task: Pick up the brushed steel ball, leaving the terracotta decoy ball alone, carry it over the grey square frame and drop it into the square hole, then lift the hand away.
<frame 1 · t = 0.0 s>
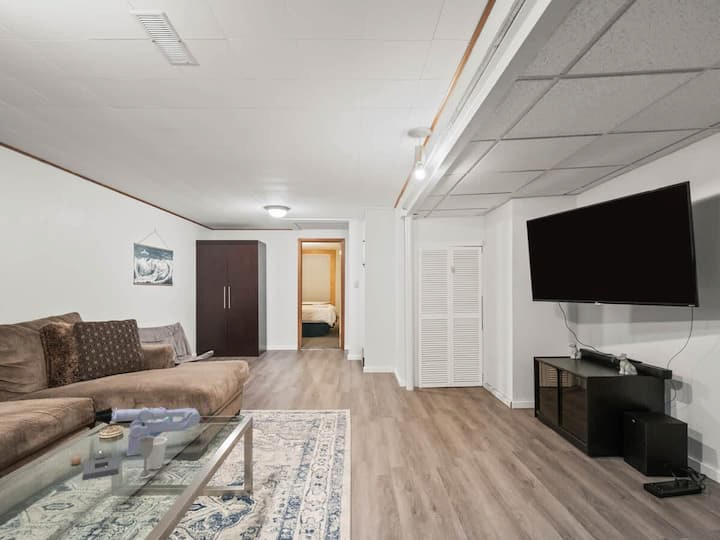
hand: (95, 416, 208), 22 cm above the table, tool horizontal, fingers open, 7 cm apart
foam cup: (155, 467, 203), on the table
chalice: (144, 476, 193), on the table
grey square frame: (101, 470, 197), on the table
steel ball: (100, 454, 209), point 2 cm above the table
decoy ball: (76, 460, 202), point 2 cm above the table
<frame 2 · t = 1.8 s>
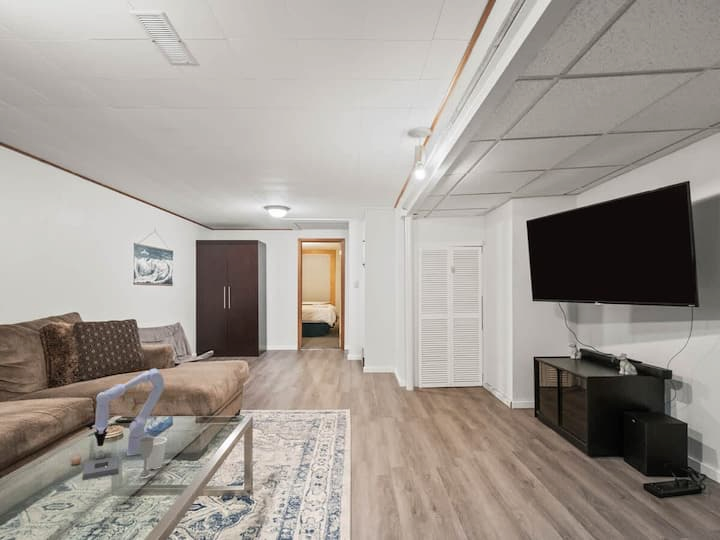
hand: (100, 442, 209), 8 cm above the table, tool pointing down, fingers open, 7 cm apart
nothing on the table moved.
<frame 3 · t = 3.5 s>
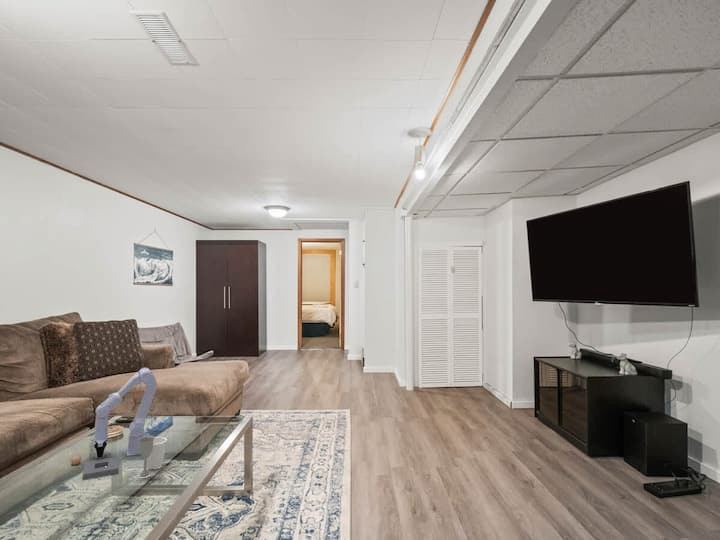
hand: (100, 455, 209), 2 cm above the table, tool pointing down, fingers closed on steel ball, 4 cm apart
steel ball: (100, 454, 209), point 2 cm above the table, touching gripper
everything else where it was.
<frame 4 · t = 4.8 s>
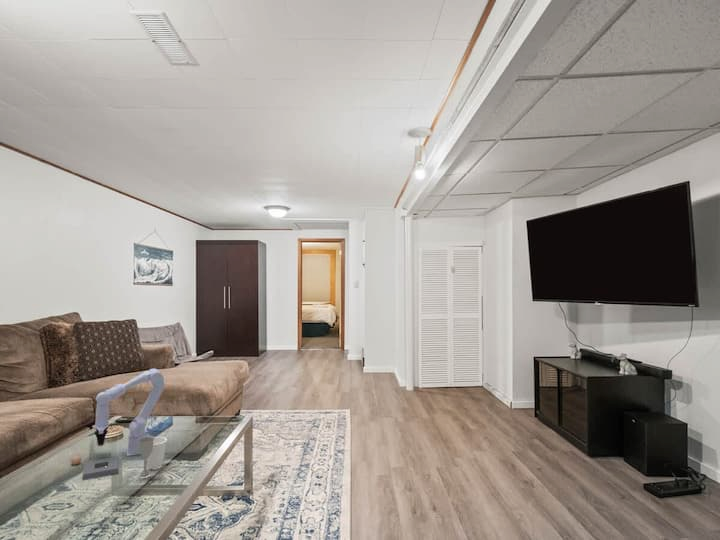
hand: (100, 442, 208), 8 cm above the table, tool pointing down, fingers closed on steel ball, 4 cm apart
steel ball: (100, 442, 208), point 9 cm above the table, touching gripper
everything else where it was.
when the fingers open (6 cm above the table, at t = 6.4 s): steel ball drops 4 cm, point 2 cm above the table.
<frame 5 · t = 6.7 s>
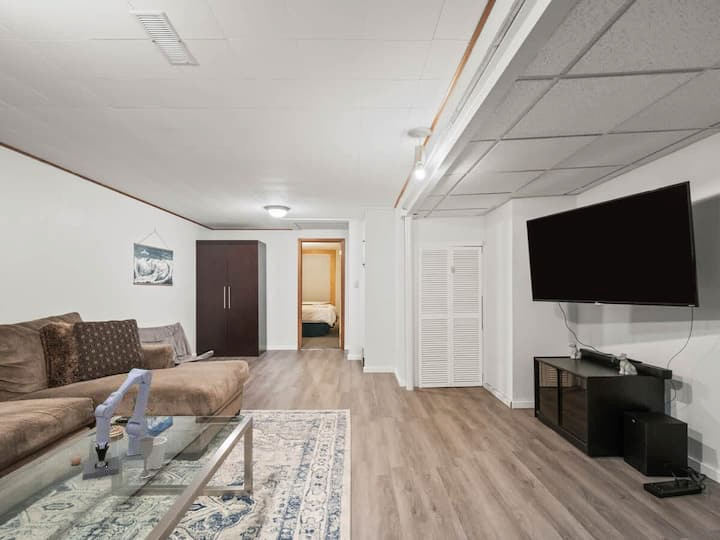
hand: (101, 457, 197), 6 cm above the table, tool pointing down, fingers open, 6 cm apart
steel ball: (101, 466, 197), point 2 cm above the table
everything else where it was.
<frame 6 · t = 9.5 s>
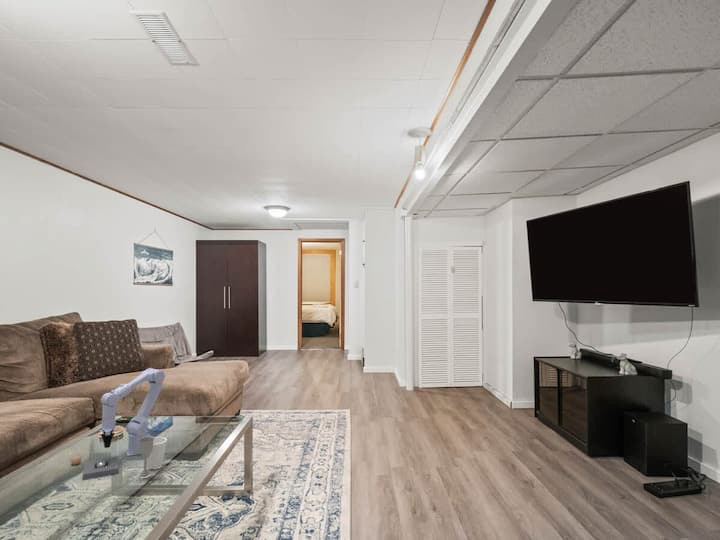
hand: (107, 444, 204), 9 cm above the table, tool pointing down, fingers open, 7 cm apart
nothing on the table moved.
at the end: steel ball 0.2 cm off-centre on the grey square frame, point 2.0 cm above the grey square frame's base; the gripper is holding nothing; decoy ball moved 0.0 cm from its start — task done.
